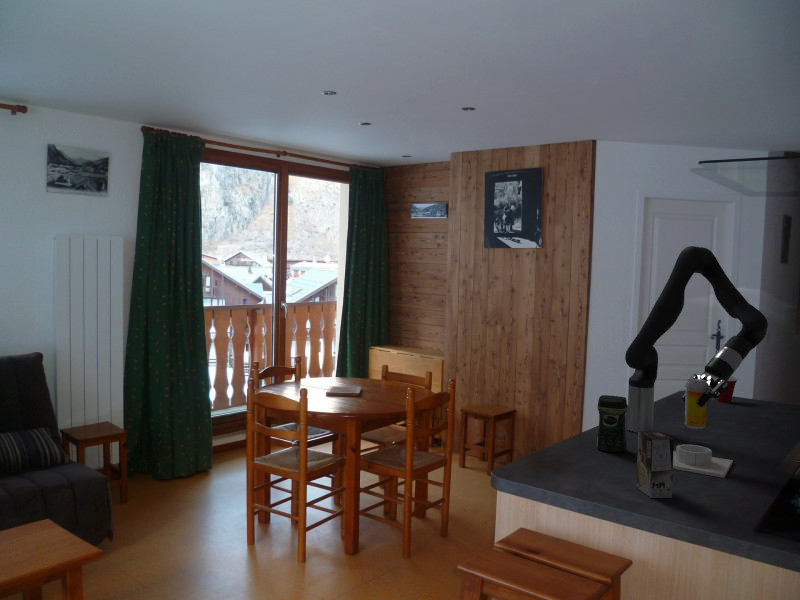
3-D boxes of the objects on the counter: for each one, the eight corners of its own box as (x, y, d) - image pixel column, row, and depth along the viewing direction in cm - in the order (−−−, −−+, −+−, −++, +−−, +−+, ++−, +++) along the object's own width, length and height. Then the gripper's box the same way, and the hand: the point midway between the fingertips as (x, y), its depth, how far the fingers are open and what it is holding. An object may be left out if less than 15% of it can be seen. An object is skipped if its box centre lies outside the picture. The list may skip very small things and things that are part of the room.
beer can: (708, 430, 198) (709, 382, 198) (687, 428, 199) (688, 381, 199) (702, 425, 204) (704, 378, 204) (682, 424, 205) (683, 378, 205)
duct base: (653, 465, 200) (654, 449, 200) (666, 452, 215) (666, 437, 215) (724, 477, 189) (724, 461, 189) (732, 463, 204) (733, 447, 204)
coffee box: (673, 498, 171) (675, 438, 171) (650, 498, 171) (652, 439, 170) (656, 486, 181) (658, 430, 180) (635, 487, 180) (636, 430, 179)
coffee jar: (628, 449, 219) (629, 395, 218) (624, 454, 212) (625, 399, 211) (599, 445, 224) (600, 392, 223) (594, 450, 217) (595, 396, 216)
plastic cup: (715, 403, 300) (716, 378, 299) (708, 399, 310) (709, 374, 310) (740, 404, 298) (741, 379, 298) (732, 400, 309) (733, 375, 308)
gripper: (700, 353, 210) (668, 390, 207) (734, 359, 196) (700, 399, 193) (713, 369, 211) (682, 406, 209) (748, 376, 198) (714, 416, 195)
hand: (691, 402), depth 201 cm, fingers closed on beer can, 6 cm apart
